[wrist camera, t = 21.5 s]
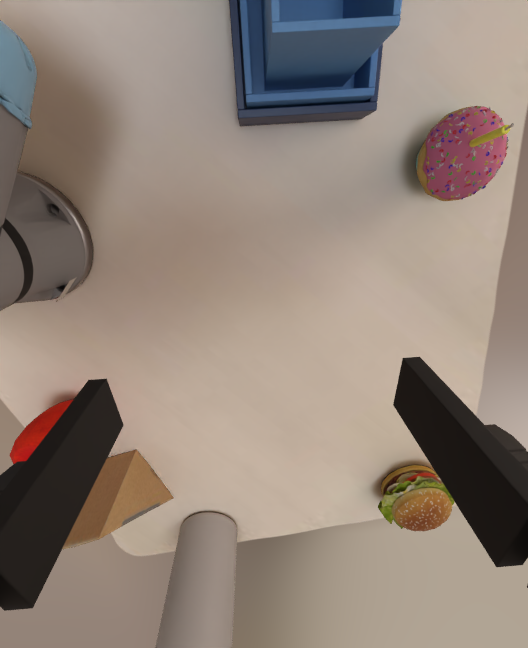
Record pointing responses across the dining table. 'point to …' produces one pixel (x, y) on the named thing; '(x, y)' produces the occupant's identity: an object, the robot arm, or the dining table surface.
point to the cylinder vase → (201, 585)
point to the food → (415, 498)
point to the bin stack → (293, 103)
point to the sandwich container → (118, 498)
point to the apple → (36, 432)
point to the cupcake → (462, 153)
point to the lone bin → (322, 39)
